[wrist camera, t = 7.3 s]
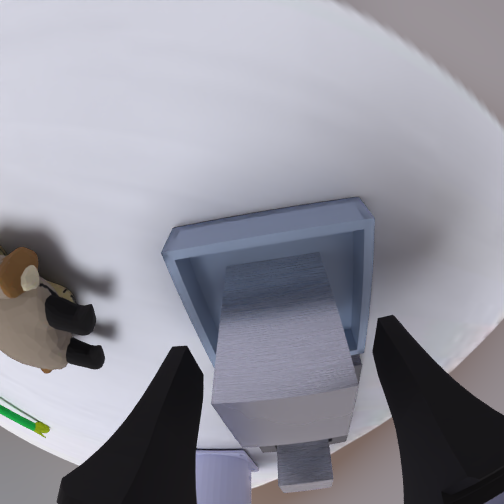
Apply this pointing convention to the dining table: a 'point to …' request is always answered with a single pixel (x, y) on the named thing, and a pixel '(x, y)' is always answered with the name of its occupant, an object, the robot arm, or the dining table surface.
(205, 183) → the dining table surface
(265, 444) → the light grey block
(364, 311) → the tray
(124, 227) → the dining table surface
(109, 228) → the dining table surface
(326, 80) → the dining table surface
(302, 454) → the grey rectangular block
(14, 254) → the toy
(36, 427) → the toy
